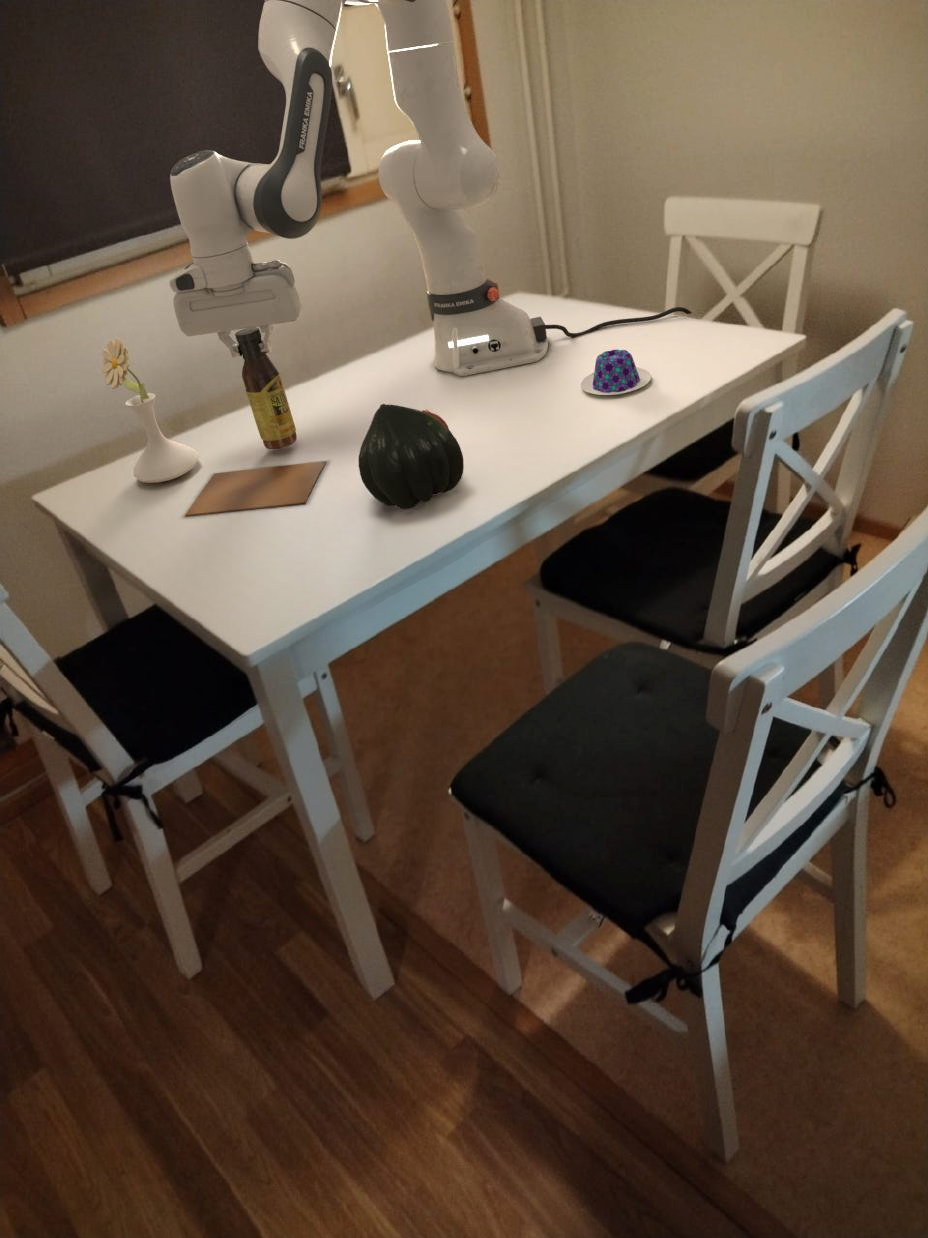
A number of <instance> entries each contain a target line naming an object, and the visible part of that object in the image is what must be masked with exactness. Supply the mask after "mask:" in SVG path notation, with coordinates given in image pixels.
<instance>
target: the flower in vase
mask: <svg viewBox="0 0 928 1238" xmlns="http://www.w3.org/2000/svg"><path fill="white" fill-rule="evenodd" d="M102 356H103V357H102V362H103V366H102V367H101V373H103V374H105V375H104V381H105V384H106V386H109V385H110V388H111V390H114V389H118V388H119V386H120V387H121V386H122V385H123V386H124V388H126V389H127V390H129V391H132V392H134V393H137V394H138V395H135V396H132V397H130V398H129V399H127V401H125V406H126V407H128V408H129V409H131V410H132V411H133V412H134V413H135V414H136V415H137V417H138V419H139V421H140V422H141V424H142V426H143V428H144V430H145V434H146V436H147V444H146V447H145V448H144V450H142V453H141V454H140V456H139V457H138V459H137V460H136V462H135V464H134V467H133V476H134V478H135V479H137V480H138V481H140V482H142V483H149V484H153V483H164V482H167V481H171V480H175V479H176V478H179V477H181V476H183V475H185V474H186V473H188V472H189V471H190V470H192V469H194V467H195V466H196V465H197V463H198V462H199V461H198V460H199V453H198V452H197V450H195V449H194V448H193V447H191V446H189V445H186V444H184V443H180V442H178V441H174V440H171V439H169V438H167V437H165V436H164V435H163V433H162V431H161V429H160V428H159V425H158V422H157V419H156V415H155V409H154V407H155V406H154V403H155V399H156V394H155V393H152V392H148V393H147V391H146V386H145V383H144V382H142V383H141V381H140V380H139V378H138V377H137V375H135V373H134V372H133V371H132V370H131V369H130V361H129V358H130V357H129V348H128V347H126V345H125V342H124V341H122V339H121V338H119V337H117V336H116V337H115V338H114V340H113V339H111V338H110V339H109V342H107V343H106V349H105V348H104V349H103V350H102ZM128 373H129V374H130V375H131V376H133V378H134V379H135V381H136V382H135V381H132V380H131V379H129V378H127V377H126V376H127V375H128Z"/></svg>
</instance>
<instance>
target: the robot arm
mask: <svg viewBox="0 0 928 1238" xmlns="http://www.w3.org/2000/svg"><path fill="white" fill-rule="evenodd" d="M447 1H448V0H264V2H263V6H262V11H261V16H260V19H259V25H258V26H259V28H258V38H257V39H258V40H257V41H258V42H257V43H258V45H257V47H258V48H257V49H258V52H259V54H260V55H259V56H260V58H261V60H262V62H263V64H264V65H265V67H266V68H267V70H268V71H269V73H270V74H271V75H273V76H274V78H276V79H277V80H278V81H279V82H280V83H281V84H282V86H283V89H284V91H285V107H284V108H285V109H284V114H283V115H284V116H283V123H282V128H281V134H280V140H279V141H280V142H279V148H278V152H277V154H276V156H275V157H274V160H273V161H272V162H271V163H267V164H266V163H259V162H257V163H255V162H248V161H241V160H238V159H237V160H236V159H233V158H229V157H226V156H223V155H222V154H219V153H217V151H215V150H212V149H204V150H200V151H197V152H195V153H191V154H189V155H186V156H184V157H183V158H181V159H180V160H178V161H177V162H176V163H175V164H174V166H172V167H171V170H170V174H169V179H170V187H171V192H172V197H173V201H174V204H175V205H174V206H175V208H176V212H177V216H178V218H179V221H180V225H181V227H182V229H183V231H184V233H185V234H186V236H187V238H188V241H189V245H190V255H191V258H192V262H191V263H189V264H188V265H186V266H185V267H184V268H182V269H181V270H179V271H178V272H176V273H175V274H174V275H173V276H171V279H169V287H170V289H171V291H172V292H173V293H175V294H174V296H173V299H172V302H173V309H174V313H175V317H176V321H177V324H178V326H179V329H180V331H181V332H182V333H183V334H184V335H185V336H186V337H195V336H196V337H197V336H201V335H209V334H210V335H211V334H216V333H217V336H218V340H220V341H221V342H222V343H223V344H224V345H225V346H226V347H227V348H228V349H229V352H230V354H231V357H232V358H238V357H243V355H242V351H241V348H240V345H239V343H238V342H236V341H235V340H234V339H233V338H232V337H231V336H230V335H231V334H232V332H231V331H236V330H237V331H239V330H242V329H246V328H252V327H257V328H259V330H260V333H261V334H263V333H264V335H263V339H261V341H260V343H259V347H260V349H261V350H260V351H261V353H266V354H269V353H271V352H272V351H273V345H272V341H271V339H272V334H273V330H274V325H279V324H286V323H287V324H288V323H294V322H297V320H298V319H299V318H300V317H301V315H302V313H303V310H304V308H303V303H302V301H301V298H300V295H299V293H298V290H297V288H296V285H295V283H296V282H295V281H296V280H295V277H294V273H293V270H292V268H291V267H290V266H289V265H288V264H287V263H285V262H281V261H280V260H271V261H267V262H257V263H255V261H254V259H253V255H252V252H251V249H250V246H249V245H250V244H249V242H248V239H247V238H248V237H247V236H248V234H249V233H251V232H254V231H255V232H260V233H267V234H272V235H275V236H277V237H281V238H284V239H289V240H295V239H299V238H302V237H304V236H306V235H307V234H309V233H310V232H311V231H312V230H313V228H314V227H315V226H316V224H317V223H318V221H319V218H320V216H321V212H322V205H323V196H322V194H323V193H322V182H321V179H322V178H321V171H322V169H321V168H322V159H323V152H324V147H325V141H326V135H327V128H328V121H329V115H330V108H331V100H332V91H333V73H332V72H333V71H332V67H331V66H332V57H333V50H334V45H335V41H336V37H337V31H338V28H339V23H340V18H341V12H342V11H343V8H344V7H353V6H364V5H370V4H375V6H376V8H377V9H378V11H379V13H380V15H381V17H382V20H383V23H384V31H385V42H386V50H387V56H388V63H389V70H390V71H389V72H390V76H391V77H390V78H391V84H392V91H393V96H394V102H395V104H396V106H397V108H398V109H399V111H400V112H401V113H403V115H405V116H406V117H407V118H408V120H409V121H410V122H411V124H412V126H413V128H414V130H415V133H416V135H417V137H418V140H417V139H416V140H415V139H414V140H408V141H403V142H402V143H399V144H396V145H394V146H392V147H390V148H389V149H387V150H386V151H385V152H384V153H383V155H382V157H381V159H380V161H379V165H378V183H379V187H380V188H381V191H382V192H383V194H384V195H385V196H386V198H387V199H388V200H389V201H390V202H392V203H393V205H395V207H396V208H397V209H398V210H399V212H400V214H401V215H402V217H403V218H404V220H405V222H406V224H407V226H408V227H409V229H410V231H411V234H412V235H413V238H414V240H415V243H416V246H417V248H418V251H419V255H420V260H421V263H422V269H423V272H424V276H425V282H426V287H427V291H426V292H425V293H426V303H427V307H428V312H429V316H430V319H431V321H432V324H433V333H434V334H433V335H434V358H433V366H434V367H435V368H436V369H438V370H440V371H443V372H449V373H453V374H454V375H456V376H460V377H466V376H471V375H476V374H482V373H487V372H491V371H496V370H501V369H507V368H511V367H516V366H522V365H526V364H527V365H528V364H531V363H535V362H538V361H540V360H541V359H543V358H544V356H545V355H546V354H547V352H548V348H549V342H548V335H547V330H560V331H562V332H563V334H564V335H565V336H566V337H569V338H578V337H580V336H584V335H587V334H590V333H592V332H595V331H597V330H600V329H602V328H605V327H609V326H613V325H621V324H631V323H641V322H642V323H643V322H649V321H656V320H658V319H662V318H664V317H666V316H668V315H670V314H674V313H676V312H681V313H685V314H686V315H690V314H692V311H691V310H690V309H689V308H686V307H683V306H677V307H676V306H675V307H672V308H670V309H667V310H665V311H663V312H660V313H658V314H657V313H656V314H654V315H649V316H641V317H631V318H630V317H629V318H619V319H614V320H607V321H603V322H601V323H599V324H596V325H594V326H592V327H590V328H588V329H586V330H584V331H580V332H570V331H569V330H568V329H567V327H566V326H564V325H561V324H546V323H545V322H544V319H543V318H542V317H541V316H537V317H531V318H530V316H529V314H528V313H527V311H524V310H523V309H521V308H520V307H517V306H516V305H513V304H511V303H509V302H508V301H506V300H504V299H503V298H500V290H499V284H498V281H497V279H494V281H493V280H491V279H489V278H487V277H486V272H485V264H484V258H483V252H482V246H481V241H480V237H479V236H478V234H477V233H476V232H475V230H474V229H472V228H471V227H470V226H469V225H468V223H466V222H465V220H464V219H463V217H462V216H461V214H460V212H459V210H469V209H472V208H475V207H479V206H483V205H485V204H487V203H489V202H491V200H492V199H493V197H495V194H496V193H497V190H498V187H499V184H500V178H501V171H500V170H501V169H500V164H499V161H498V157H497V156H496V153H495V152H494V151H493V149H492V148H491V147H490V146H489V145H488V144H486V143H485V141H484V140H483V139H482V138H481V136H480V135H479V133H478V132H477V130H476V128H475V126H474V124H473V123H472V120H471V118H470V116H469V114H468V110H467V108H466V105H465V102H464V99H463V95H462V91H461V90H462V89H461V86H460V78H459V72H458V65H457V57H456V49H455V41H454V40H455V39H454V33H453V26H452V25H453V24H452V20H451V14H450V10H449V5H448V2H447Z"/></svg>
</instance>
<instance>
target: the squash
mask: <svg viewBox="0 0 928 1238" xmlns="http://www.w3.org/2000/svg"><path fill="white" fill-rule="evenodd" d="M448 428H449V427H448ZM448 428H447V427H446V426H445V425H444V424H443V423H442V422H441V421H440V420H439V419H438V418H436V417H435V416H433V415H431V414H428V413H425V412H422V410H419V409H416V408H412V407H407V406H402V405H397V404H386V403H381V404H380V405H379V407H378V409H377V410H376V411H375V413H374V415H373V418H372V419H371V422H370V425H369V427H368V429H367V431H366V433H365V436H364V438H363V439H362V443H361V446H360V449H359V454H358V471H359V476H360V478H361V481H362V483H363V485H364V487H365V488H366V489H367V491H368V492H369V493H370V494H371V495H372V497H374V499H376V500H377V501H378V502H380V503H382V504H384V505H386V506H390V507H396V508H398V509H402V510H410V509H413V508H415V507H416V506H417V505H418V504H419V503H420V502H421V503H428V502H430V501H431V500H432V499H433V496H434V495H436V496H437V495H439V494H445V493H448V492H450V491H452V490H453V489H455V488H456V486H458V484H459V483H460V481H461V480H462V478H463V474H464V467H465V465H464V455H463V452H462V448H461V446H460V443H459V442H458V440H457V438H456V437H455V435H453V433H452V432H451V430H450V428H449V429H448Z"/></svg>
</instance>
